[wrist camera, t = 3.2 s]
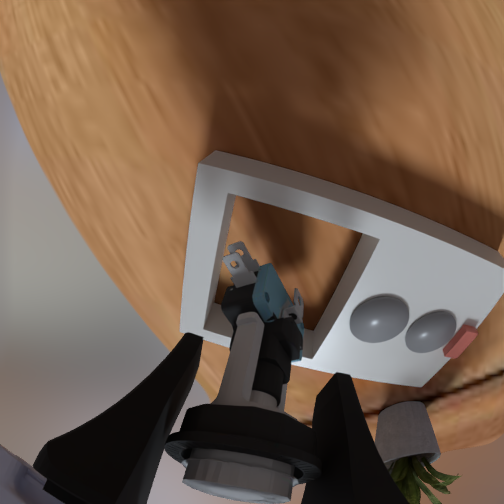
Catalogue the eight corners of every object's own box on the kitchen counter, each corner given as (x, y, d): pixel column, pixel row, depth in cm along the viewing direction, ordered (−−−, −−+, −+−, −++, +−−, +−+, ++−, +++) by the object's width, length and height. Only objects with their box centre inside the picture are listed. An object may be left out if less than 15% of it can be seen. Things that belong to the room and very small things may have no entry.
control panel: (498, 251, 13) (520, 280, 11) (416, 362, 20) (422, 393, 17) (215, 150, 14) (193, 167, 11) (192, 306, 20) (176, 338, 18)
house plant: (297, 422, 27) (273, 561, 14) (393, 358, 20) (401, 566, 6) (386, 443, 29) (383, 554, 15) (474, 392, 21) (493, 527, 8)
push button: (192, 254, 15) (92, 437, 6) (292, 217, 13) (255, 463, 4) (251, 341, 17) (212, 500, 9) (337, 321, 15) (335, 505, 7)
